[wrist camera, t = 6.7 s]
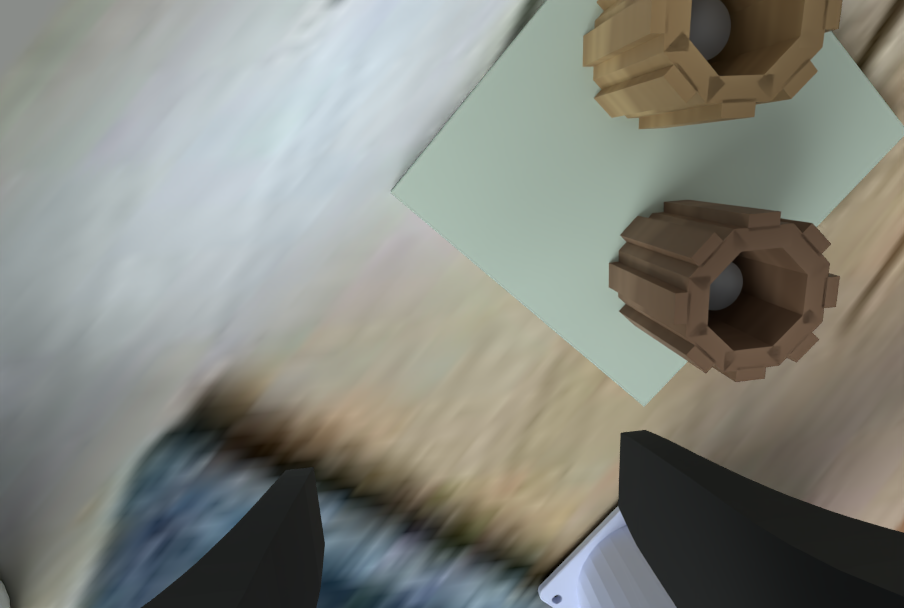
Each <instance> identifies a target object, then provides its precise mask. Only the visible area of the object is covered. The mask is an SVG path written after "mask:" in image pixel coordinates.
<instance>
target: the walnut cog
mask: <svg viewBox="0 0 904 608" xmlns="http://www.w3.org/2000/svg"><path fill="white" fill-rule="evenodd" d="M620 236H621V237H622V238H623V239H624V240H625V241H626V243H625V244H624V245H623V246H622V247H621V249H620V250H619V262H612V263H609V288H611V289H613V290H614V291H616V292H618V297H619V298H620V299H621V300H622V301H623V302H624V303H625V305H624V306H623V307H622V308H621V309H620V310H619V312H620V313H621V314H622V315H624V316H625V317H626V318H627V319H628V320H629V321H630V322H631V323H632V324H634V325H635V326H636V327H638V328H639V329H641V330H642V331H644V332H645V333H646V334H648V335H649V336H651V337H652V338H654V339H655V340H657V341H658V342H660V343H661V344H663V345H664V346H666V347H667V348H669V349H670V350H672V351H673V352H675V353H676V354H678V355H679V356H681V357H682V358H684V359H685V360H687V361H688V362H690V363H691V364H693V365H694V366H696V367H697V368H699V369H700V370H702V371H703V372H705V373H707V372H708V371H709V370H710V369H711V367H713V368H715V369H716V370H718V371H719V372H721V373H723V374H724V375H726V376H727V377H729V378H730V379H732V380H734V381H735V382H740V381H748V380H756V379H764V378H765V371H766V367H771V366H779V365H780V364H781V363H782V362H783V361H784V360H785V359H786V358H789V359H791V360H793V361H795V362H797V361H798V360H799V359H800V358H801V357H802V356H803V355H804V354H805V353H806V352H807V351H808V350H809V349H810V348H811V347H812V346H813V345H814V344H815V343H816V342H817V341H818V340H819V339H818V338H817V337H816V336H815V335H814V334H813V333H812V332H813V331H814V330H815V329H816V328H817V327H818V326H819V325H820V324H821V323H822V321H823V313H824V308H830V307H836V301H837V294H838V286H839V279H840V276H837V275H833V274H829V266H830V263H829V262H828V261H827V260H826V258H825V257H824V256H823V255H822V253H823V252H824V251H825V250H826V249H827V248H828V247H829V246H830V245H831V243H830V242H829V241H828V240H827V239H826V238H825V237H824V235H823V234H822V233H821V232H820V231H819V230H818V229H817V228H816V226H815V225H814V224H813V223H809V222H802V221H796V220H789V219H782V218H781V211H774V210H766V209H758V208H751V207H743V206H735V205H727V204H719V203H711V202H703V201H695V200H678V201H667V202H664V212H660V213H652V214H651V215H650V216H649V218H647V217H642V216H637V217H636V218H635V219H634V220H633V221H632V222H631V223H630V224H629V226H628V227H627V228H626V229H625V230H624V231H623V232H622V233H621V234H620ZM731 262H732V263H734V264H735V265H737V266H738V268H739V269H740V271H741V273H742V277H743V285H742V289H741V292H740V294H739V296H738V297H737V299H736V300H735V301H734V302H733V303H732V304H731V305H729V306H728V307H726V308H724V309H721V310H709V295H710V284H711V283H712V282H713V281H714V280H715V279H716V278H717V277H718V276H719V275H720V274H721V273H722V272H723V271H724V270H725V268H726V267H727V266H728V265H729V264H730V263H731Z"/></svg>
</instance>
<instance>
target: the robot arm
mask: <svg viewBox="0 0 904 608" xmlns="http://www.w3.org/2000/svg"><path fill="white" fill-rule="evenodd" d="M324 546H325V542H324V535H323V528H322V522H321V515H320V508H319V501H318V494H317V487H316V481H315V474H314V467H311V468H302V469H294V470H286V471H285V472H284V473H283V474H282V475H281V476H280V477H279V478H278V480H277V481H276V482H275V483H274V484H273V485H272V486H271V487H270V488H269V489H268V491H267V492H266V493H265V494H264V495H263V496H262V497H261V498H260V499H259V501H258V502H257V503H256V504H255V505H254V506H253V507H252V508H251V509H250V510H249V511H248V513H247V514H246V515H245V516H244V517H243V518H242V519H241V520H240V521H239V522H238V523H237V524H236V525H235V526H234V527H233V528H232V529H231V530H230V531H229V532H228V533H227V534H226V535H225V536H224V537H223V538H222V539H221V540H220V541H219V542H218V543H217V544H216V545H215V546H214V547H213V548H212V549H211V550H210V551H209V552H208V553H207V554H205V555H204V556H203V557H202V558H201V559H200V560H199V561H198V562H197V563H196V564H195V565H194V566H192V567H191V568H190V569H189V570H188V571H187V572H185V573H184V574H183V575H182V576H181V577H180V578H178V579H177V580H176V581H175V582H173V583H172V584H171V585H170V586H168V587H167V588H166V589H165V590H164V591H162V592H161V593H160V594H159V595H157V596H156V597H155V598H153V599H152V600H151V601H150V602H148V603H147V604H145V605H144V606H143V607H141V608H316V606H317V602H318V597H319V592H320V587H321V578H322V569H323V558H324ZM538 592H539V595H540V598H541V599H542V600H543V601H544V602H545V603H547V604H548V605H550V606H552V607H553V608H904V533H903V532H899V531H895V530H891V529H888V528H884V527H881V526H878V525H874V524H871V523H867V522H864V521H861V520H857V519H854V518H850V517H847V516H844V515H841V514H838V513H835V512H832V511H829V510H826V509H823V508H820V507H818V506H815V505H812V504H809V503H807V502H804V501H801V500H798V499H796V498H793V497H790V496H788V495H785V494H783V493H780V492H778V491H775V490H773V489H771V488H768V487H766V486H764V485H761V484H759V483H757V482H754V481H752V480H750V479H748V478H745V477H743V476H741V475H739V474H737V473H734V472H732V471H730V470H728V469H726V468H724V467H722V466H720V465H718V464H716V463H714V462H712V461H709V460H707V459H705V458H703V457H701V456H699V455H697V454H695V453H693V452H691V451H689V450H687V449H685V448H683V447H681V446H679V445H677V444H675V443H673V442H671V441H669V440H667V439H665V438H663V437H661V436H659V435H656V434H654V433H652V432H649V431H646V430H642V431H633V432H624V433H621V440H620V469H619V499H618V506H617V507H616V508H615V509H614V510H613V511H612V512H611V513H610V514H609V516H608V517H607V518H606V519H605V520H604V521H603V522H602V523H601V524H600V525H599V526H598V527H597V528H596V529H595V530H594V531H593V532H592V533H591V534H590V535H589V536H588V537H587V538H586V539H585V540H584V541H583V542H582V543H581V544H580V545H579V546H578V547H577V548H576V549H575V550H574V551H573V552H572V553H571V554H570V555H569V556H568V557H567V558H566V559H565V560H564V561H563V562H562V563H561V564H560V565H559V566H558V567H557V568H556V569H555V570H554V571H553V572H552V573H551V574H550V575H549V577H548V578H547V579H546V580H545V581H544V582H543V583H542V584H541V585H540V586H539V588H538ZM556 595H558V596H557V597H554V596H556Z"/></svg>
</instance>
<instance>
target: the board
mask: <svg viewBox="0 0 904 608" xmlns="http://www.w3.org/2000/svg"><path fill="white" fill-rule="evenodd" d="M602 12H603V9H602V8H601V7H600V6H599V5H598V4H597V0H546V1H545V2H544V3H543V4H542V6H541V7H540V8H539V9H538V10H537V12H536V13H535V14H534V15H533V17H532V18H531V19H530V20H529V22H528V23H527V24H526V25H525V26H524V28H523V29H522V30H521V31H520V33H519V34H518V35H517V36H516V38H515V39H514V40H513V41H512V43H511V44H510V45H509V46H508V47H507V49H506V50H505V51H504V52H503V54H502V55H501V56H500V57H499V59H498V60H497V61H496V62H495V63H494V65H493V66H492V67H491V68H490V70H489V71H488V72H487V73H486V75H485V76H484V77H483V78H482V79H481V81H480V82H479V83H478V84H477V86H476V87H475V88H474V89H473V91H472V92H471V93H470V94H469V96H468V97H467V98H466V99H465V100H464V102H463V103H462V104H461V105H460V107H459V108H458V109H457V110H456V112H455V113H454V114H453V115H452V116H451V118H450V119H449V120H448V121H447V123H446V124H445V125H444V126H443V128H442V129H441V130H440V131H439V132H438V134H437V135H436V136H435V137H434V139H433V140H432V141H431V142H430V144H429V145H428V146H427V147H426V149H425V150H424V151H423V152H422V153H421V155H420V156H419V157H418V158H417V160H416V161H415V162H414V163H413V165H412V166H411V167H410V168H409V169H408V171H407V172H406V173H405V174H404V176H403V177H402V178H401V179H400V181H399V182H398V183H397V184H396V185H395V187H394V188H393V189H392V190H391V194H392V195H394V196H395V197H396V198H397V199H398V200H400V201H401V202H402V203H403V204H404V205H405V206H407V207H408V208H409V209H410V210H411V211H413V212H414V213H415V214H416V215H417V216H419V217H420V218H421V219H422V220H423V221H424V222H426V223H427V224H428V225H429V226H430V227H432V228H433V229H434V230H435V231H436V232H437V233H439V234H440V235H441V236H442V237H443V238H445V239H446V240H447V241H448V242H449V243H451V244H452V245H453V246H454V247H455V248H456V249H458V250H459V251H460V252H461V253H462V254H464V255H465V256H466V257H467V258H468V259H470V260H471V261H472V262H473V263H474V264H475V265H477V266H478V267H479V268H480V269H481V270H483V271H484V272H485V273H486V274H487V275H489V276H490V277H491V278H492V279H493V280H494V281H496V282H497V283H498V284H499V285H500V286H502V287H503V288H504V289H505V290H506V291H508V292H509V293H510V294H511V295H512V296H513V297H515V298H516V299H517V300H518V301H519V302H521V303H522V304H523V305H524V306H525V307H527V308H528V309H529V310H530V311H531V312H532V313H534V314H535V315H536V316H537V317H538V318H540V319H541V320H542V321H543V322H544V323H545V324H547V325H548V326H549V327H550V328H551V329H553V330H554V331H555V332H556V333H557V334H559V335H560V336H561V337H562V338H563V339H564V340H566V341H567V342H568V343H569V344H570V345H572V346H573V347H574V348H575V349H576V350H578V351H579V352H580V353H581V354H582V355H583V356H585V357H586V358H587V359H588V360H589V361H591V362H592V363H593V364H594V365H595V366H597V367H598V368H599V369H600V370H601V371H602V372H604V373H605V374H606V375H607V376H608V377H610V378H611V379H612V380H613V381H614V382H616V383H617V384H618V385H619V386H620V387H621V388H623V389H624V390H625V391H626V392H627V393H629V394H630V395H631V396H632V397H633V398H635V399H636V400H637V401H638V402H639V403H640V404H642V405H643V406H645V405H646V404H647V403H648V402H649V401H650V400H651V399H652V398H653V397H654V396H655V395H656V394H657V393H658V392H659V391H660V390H661V389H662V387H663V386H664V385H665V384H666V383H667V382H668V381H669V380H670V379H671V378H672V377H673V376H674V375H675V374H676V373H677V372H678V371H679V370H680V369H681V368H682V367H683V366H684V365H685V364H686V362H687V360H685V359H684V358H682V357H681V356H679V355H678V354H676V353H675V352H673V351H672V350H670V349H669V348H667V347H666V346H664V345H663V344H661V343H660V342H658V341H657V340H655V339H654V338H652V337H651V336H649V335H648V334H646V333H645V332H644V331H642V330H641V329H639V328H638V327H636V326H635V325H634V324H632V323H631V322H630V321H629V320H628V319H627V318H626V317H625V316H624V315H622V314H621V313H620V312H619V310H620V309H621V308H622V307H623V306H624V305H625V303H624V302H623V301H622V300H621V299H620V298H619V297H618V292H616V291H614V290H613V289H611V288H609V263H612V262H619V250H620V249H621V247H622V246H623V245H624V244H625V243H626V241H625V240H624V239H623V238H622V237H621V236H620V234H621V233H622V232H623V231H624V230H625V229H626V228H627V227H628V226H629V224H630V223H631V222H632V221H633V220H634V219H635V218H636V217H637V216H642V217H647V218H649V216H650V215H651V214H652V213H660V212H664V202H667V201H678V200H695V201H703V202H711V203H719V204H727V205H735V206H743V207H751V208H758V209H766V210H774V211H781V218H782V219H789V220H796V221H802V222H809V223H813V224H814V225H815V226H816V227H817V226H818V225H819V224H820V223H821V222H822V221H823V220H824V219H825V218H826V216H827V215H828V214H829V213H830V212H831V211H832V210H833V209H834V208H835V207H836V206H837V205H838V204H839V203H840V202H841V201H842V200H843V199H844V198H845V197H846V196H847V195H848V194H849V192H850V191H851V190H852V189H853V188H854V187H855V186H856V185H857V184H858V183H859V182H860V181H861V180H862V179H863V178H864V177H865V176H866V175H867V174H868V173H869V172H870V171H871V170H872V169H873V167H874V166H875V165H876V164H877V163H878V162H879V161H880V160H881V159H882V158H883V157H884V156H885V155H886V154H887V153H888V152H889V151H890V150H891V149H892V148H893V147H894V146H895V145H896V143H897V142H898V141H899V140H900V139H901V138H902V137H903V136H904V126H903V125H902V123H901V122H900V121H899V119H898V118H897V117H896V115H895V114H894V113H893V111H892V110H891V109H890V107H889V106H888V105H887V104H886V102H885V101H884V100H883V98H882V97H881V96H880V94H879V93H878V92H877V90H876V89H875V88H874V87H873V85H872V84H871V83H870V81H869V80H868V79H867V77H866V76H865V75H864V73H863V72H862V71H861V70H860V68H859V67H858V66H857V64H856V63H855V62H854V60H853V59H852V58H851V56H850V55H849V54H848V52H847V51H846V50H845V49H844V47H843V46H842V45H841V43H840V42H839V41H838V39H837V38H836V37H835V35H834V34H833V33H832V32H831V31H829V32H826V33H824V41H823V47H822V48H821V49H820V51H819V52H818V53H817V54H816V55H815V56H814V57H813V58H812V59H811V60H810V61H811V62H812V63H813V65H814V66H815V67H816V69H817V70H818V72H817V73H816V74H815V75H814V76H813V77H812V78H811V79H810V80H809V81H808V82H807V83H806V84H805V85H804V86H803V87H802V88H801V90H800V91H799V92H798V93H797V94H796V95H795V96H794V97H793V98H792V99H789V100H782V101H776V102H770V103H763V104H757V105H756V107H755V116H754V117H751V118H743V119H735V120H726V121H718V122H710V123H702V124H694V125H686V126H678V127H669V128H656V129H639V118H627V117H626V116H625V115H624V116H619V117H614V118H611V117H610V116H609V114H608V113H607V112H606V111H605V110H604V109H603V108H602V107H601V106H600V105H599V103H598V102H597V101H596V100H595V99H594V97H595V96H596V95H597V94H598V93H599V92H600V90H601V88H600V87H599V86H598V85H597V84H596V83H595V82H594V81H593V67H583V36H584V35H585V34H587V33H588V32H590V31H592V30H593V29H594V26H595V20H596V19H597V18H598V17H599V16H600V15H601V14H602ZM730 31H731V19H730V15H729V12H728V10H727V8H726V6H725V5H724V4H723V3H722V2H721V1H720V0H692V7H691V21H690V35H689V40H690V41H691V42H692V43H693V45H694V46H695V47H696V48H697V49H698V51H699V52H700V53H701V54H702V56H703V57H704V58H705V59H706V60H709V59H711V58H713V57H715V56H716V55H718V54H719V53H720V52H721V51H722V49H723V48H724V47H725V45H726V43H727V41H728V39H729V36H730ZM742 285H743V277H742V273H741V271H740V269H739V268H738V266H737V265H735V264H734V263H732V262H731V263H730V264H729V265H728V266H727V267H726V268H725V270H724V271H723V272H722V273H721V274H720V275H719V276H718V277H717V278H716V279H715V280H714V281H713V282H712V283H711V284H710V295H709V310H721V309H724V308H726V307H728V306H729V305H731V304H732V303H733V302H734V301H735V300H736V299H737V297H738V296H739V294H740V292H741V289H742Z"/></svg>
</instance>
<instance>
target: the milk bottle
mask: <svg viewBox="0 0 904 608" xmlns="http://www.w3.org/2000/svg"><path fill="white" fill-rule="evenodd" d="M0 608H10V600H9V596H8V594H7V592H6V589H5V586H4V584H3V583H2V581H1V580H0Z"/></svg>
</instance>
